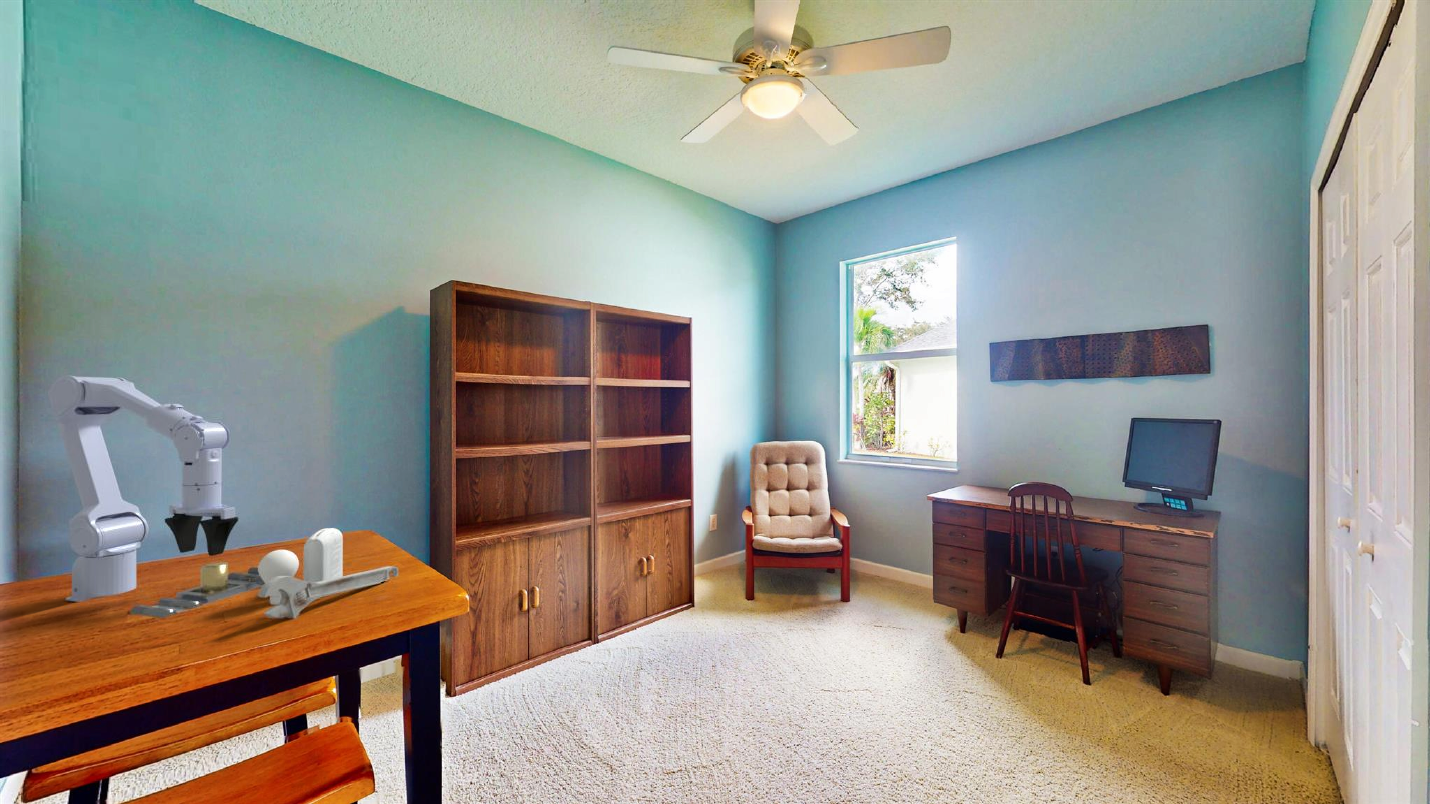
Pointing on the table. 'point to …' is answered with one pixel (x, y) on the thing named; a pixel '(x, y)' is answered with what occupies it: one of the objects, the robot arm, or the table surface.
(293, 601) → the wrench
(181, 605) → the steel chain end
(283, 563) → the lightbulb
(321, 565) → the photo printer
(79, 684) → the table surface
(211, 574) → the brass pin
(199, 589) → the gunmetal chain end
